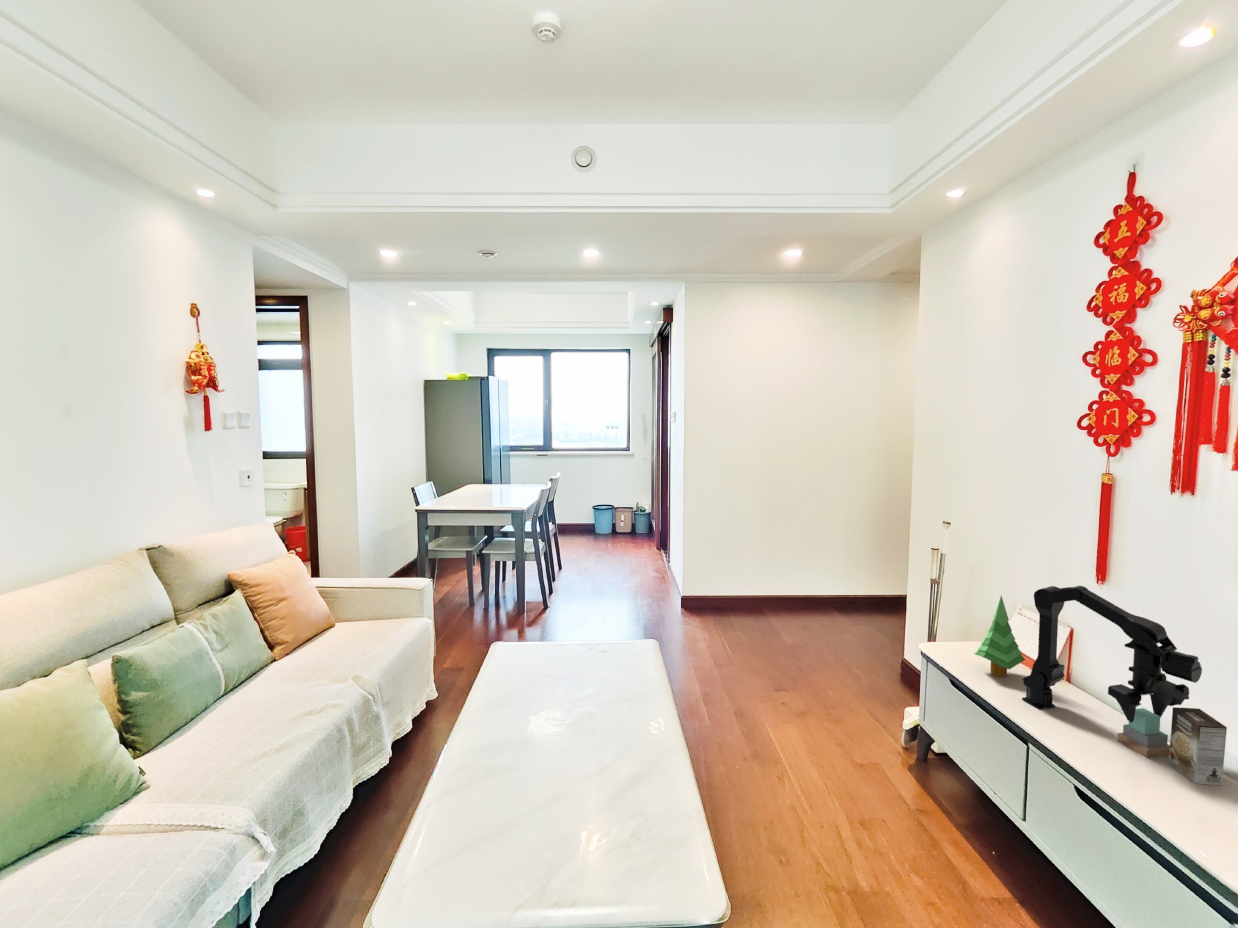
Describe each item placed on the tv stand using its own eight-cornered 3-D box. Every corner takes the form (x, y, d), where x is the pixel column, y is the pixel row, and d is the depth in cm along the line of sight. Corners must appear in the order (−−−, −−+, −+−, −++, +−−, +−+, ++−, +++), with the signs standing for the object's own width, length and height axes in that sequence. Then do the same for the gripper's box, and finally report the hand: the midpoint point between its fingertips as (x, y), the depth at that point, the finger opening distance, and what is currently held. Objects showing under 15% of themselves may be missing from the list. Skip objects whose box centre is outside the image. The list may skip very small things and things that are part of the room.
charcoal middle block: (1122, 734, 160) (1123, 724, 159) (1142, 731, 160) (1142, 722, 160) (1147, 747, 153) (1147, 737, 153) (1167, 745, 154) (1167, 734, 154)
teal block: (1128, 725, 159) (1129, 709, 158) (1143, 724, 159) (1143, 708, 158) (1144, 734, 154) (1145, 717, 154) (1159, 733, 154) (1160, 716, 154)
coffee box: (1167, 761, 151) (1170, 705, 149) (1194, 763, 150) (1198, 707, 148) (1194, 783, 142) (1198, 724, 140) (1224, 786, 141) (1228, 726, 139)
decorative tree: (965, 669, 206) (967, 591, 204) (996, 662, 211) (999, 586, 208) (1000, 686, 193) (1003, 603, 191) (1032, 678, 198) (1036, 597, 195)
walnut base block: (1116, 742, 160) (1117, 733, 160) (1140, 739, 162) (1140, 730, 161) (1146, 759, 153) (1147, 749, 152) (1171, 756, 154) (1171, 746, 153)
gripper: (1151, 684, 146) (1147, 740, 147) (1208, 676, 149) (1205, 731, 150) (1107, 665, 157) (1105, 717, 158) (1162, 658, 160) (1159, 710, 161)
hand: (1144, 719), depth 157 cm, fingers open, 9 cm apart
